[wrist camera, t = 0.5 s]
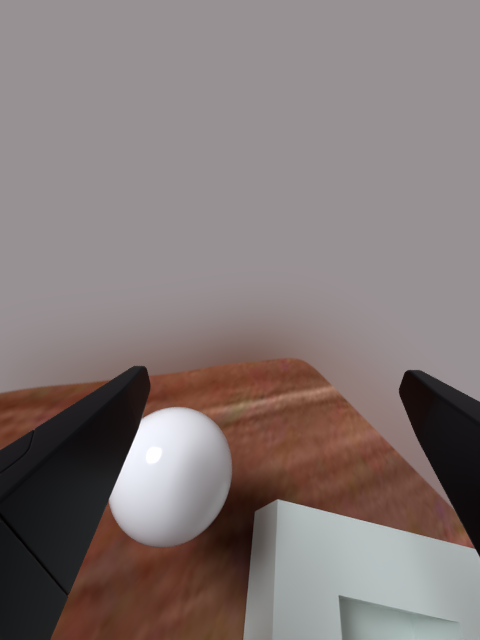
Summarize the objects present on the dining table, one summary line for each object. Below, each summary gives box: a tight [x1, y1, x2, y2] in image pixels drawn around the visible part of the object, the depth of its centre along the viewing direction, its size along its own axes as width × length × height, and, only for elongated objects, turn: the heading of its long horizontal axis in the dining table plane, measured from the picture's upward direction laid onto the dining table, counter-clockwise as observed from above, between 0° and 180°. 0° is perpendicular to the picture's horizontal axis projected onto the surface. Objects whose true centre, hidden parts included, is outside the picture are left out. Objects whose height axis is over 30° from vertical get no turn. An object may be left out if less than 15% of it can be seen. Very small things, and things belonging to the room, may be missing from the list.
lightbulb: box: [108, 407, 232, 548], centre depth 16 cm, size 6×6×11 cm
